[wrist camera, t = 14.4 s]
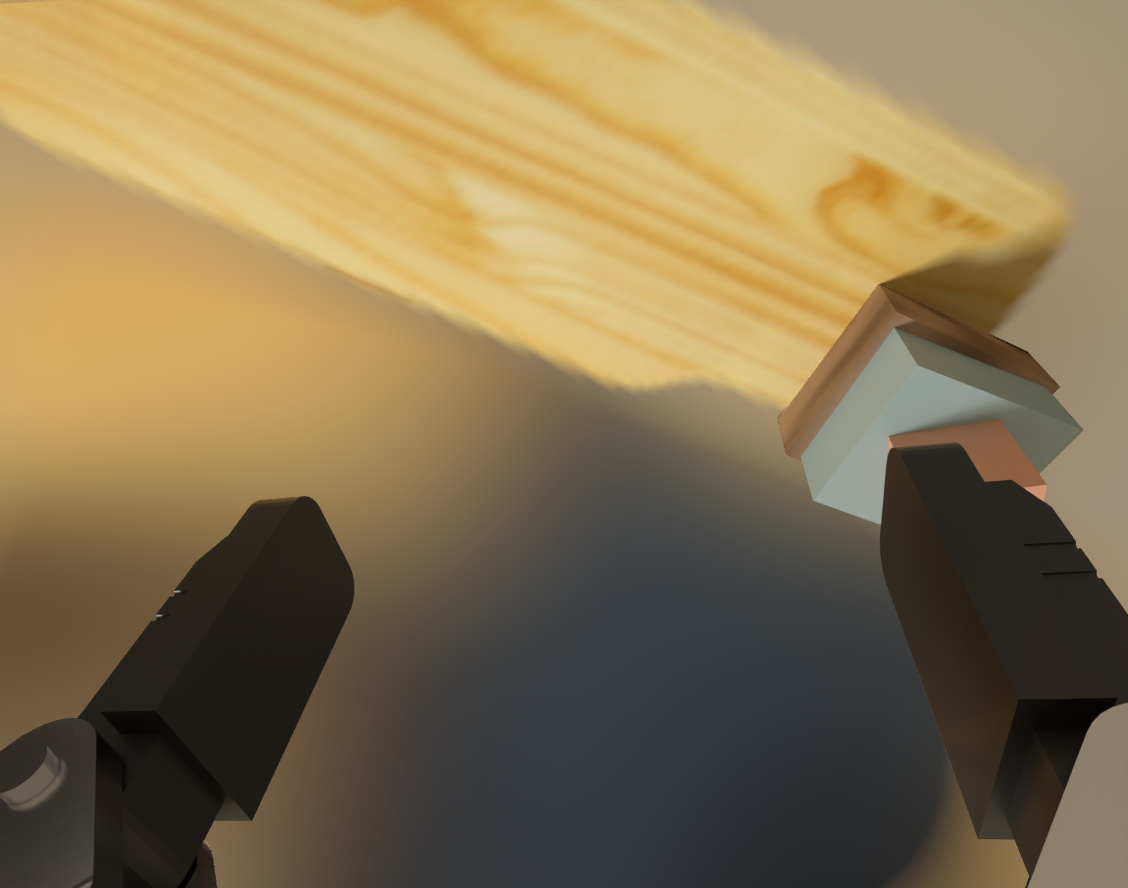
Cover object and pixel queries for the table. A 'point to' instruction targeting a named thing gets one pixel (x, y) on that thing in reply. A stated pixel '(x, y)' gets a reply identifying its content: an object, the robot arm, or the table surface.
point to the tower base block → (864, 342)
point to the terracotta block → (983, 452)
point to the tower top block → (923, 418)
